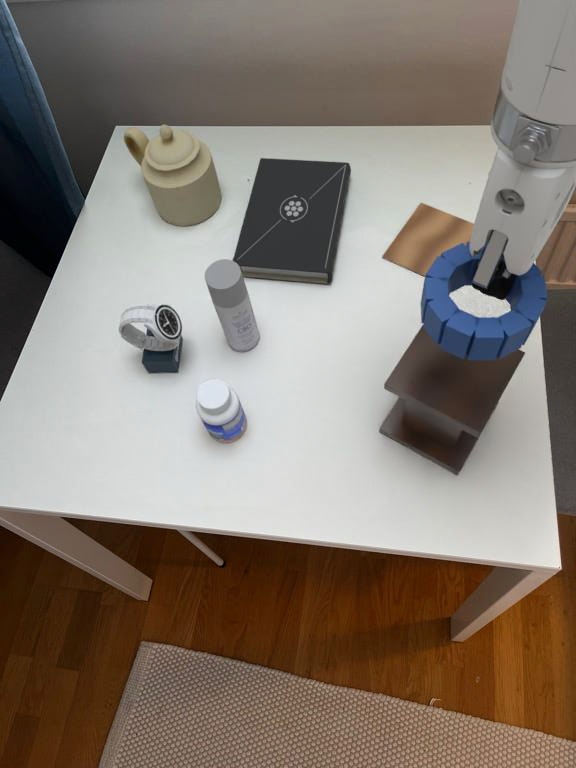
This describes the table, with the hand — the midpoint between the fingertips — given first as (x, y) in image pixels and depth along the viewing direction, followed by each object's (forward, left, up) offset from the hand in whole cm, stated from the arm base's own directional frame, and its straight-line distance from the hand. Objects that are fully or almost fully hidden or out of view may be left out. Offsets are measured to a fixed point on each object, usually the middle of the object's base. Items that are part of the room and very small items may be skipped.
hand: (496, 278), depth 54 cm
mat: (+13, -21, -25) cm, 35 cm away
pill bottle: (+23, +19, -25) cm, 39 cm away
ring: (0, +4, -1) cm, 4 cm away
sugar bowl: (+54, -9, -25) cm, 60 cm away
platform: (0, +4, -25) cm, 25 cm away
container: (+29, +7, -25) cm, 39 cm away
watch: (+37, +15, -25) cm, 47 cm away
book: (+34, -14, -25) cm, 45 cm away
